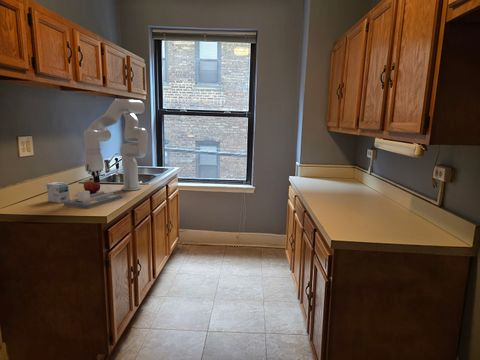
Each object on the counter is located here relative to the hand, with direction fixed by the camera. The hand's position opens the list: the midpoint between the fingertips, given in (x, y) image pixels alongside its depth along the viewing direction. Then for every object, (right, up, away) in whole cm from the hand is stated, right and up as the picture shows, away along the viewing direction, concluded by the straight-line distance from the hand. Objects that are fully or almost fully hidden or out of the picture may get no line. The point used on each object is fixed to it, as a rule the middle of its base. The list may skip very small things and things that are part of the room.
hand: (96, 182), depth 190 cm
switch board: (-1, -11, -1) cm, 11 cm away
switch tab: (-4, -10, -8) cm, 13 cm away
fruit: (-12, -7, +21) cm, 26 cm away
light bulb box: (-22, -11, 0) cm, 25 cm away
